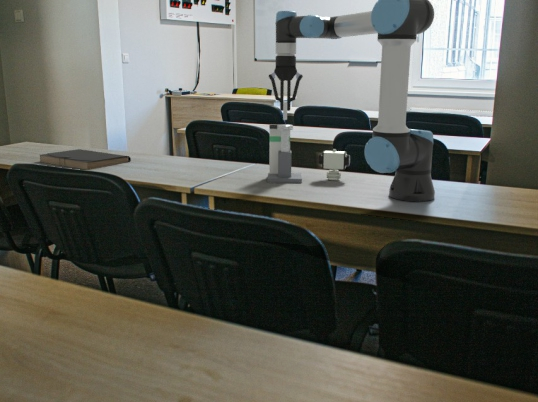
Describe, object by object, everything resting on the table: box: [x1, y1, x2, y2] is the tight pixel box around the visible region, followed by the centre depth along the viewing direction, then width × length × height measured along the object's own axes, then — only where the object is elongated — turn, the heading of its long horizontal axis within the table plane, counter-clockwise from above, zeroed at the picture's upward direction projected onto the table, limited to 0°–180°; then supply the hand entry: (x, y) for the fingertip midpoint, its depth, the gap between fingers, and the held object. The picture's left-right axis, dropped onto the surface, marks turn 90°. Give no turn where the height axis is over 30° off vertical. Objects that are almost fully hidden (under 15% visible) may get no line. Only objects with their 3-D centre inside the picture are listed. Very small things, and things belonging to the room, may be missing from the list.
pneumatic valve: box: [317, 148, 351, 182], centre depth 223 cm, size 6×12×12 cm, turn 78°
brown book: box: [39, 148, 132, 171], centre depth 259 cm, size 33×4×24 cm
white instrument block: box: [269, 123, 294, 152], centre depth 220 cm, size 9×6×11 cm
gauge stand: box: [266, 129, 303, 184], centre depth 221 cm, size 13×11×20 cm
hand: (285, 119), depth 218 cm, fingers closed
